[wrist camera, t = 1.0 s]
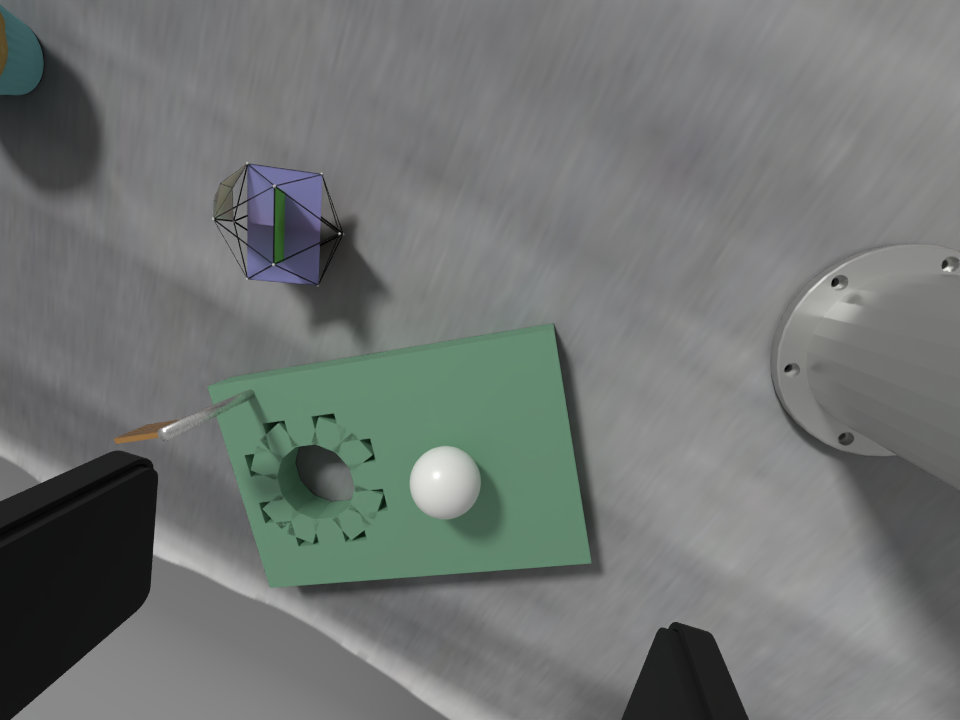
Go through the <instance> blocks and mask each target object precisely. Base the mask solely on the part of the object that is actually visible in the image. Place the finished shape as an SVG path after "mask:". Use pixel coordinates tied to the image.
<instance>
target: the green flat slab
mask: <svg viewBox="0 0 960 720" xmlns="http://www.w3.org/2000/svg"><path fill="white" fill-rule="evenodd" d="M247 389H251V390H253V391H254V394H255V396H254V398H253V399H251V400H248V401H246V402H244V403H242V404H240V405H238V406H236V407H234V408H232V409H230V410H228V411H226V412H224V413H222V414H220V415H218V416H217V419H218V422H219V425H220V428H221V431H222V435H223V438H224V441H225V444H226V447H227V451H228V454H229V457H230V460H231V464H232V467H233V470H234V473H235V476H236V480H237V483H238V486H239V489H240V492H241V496H242V499H243V502H244V505H245V509H246V512H247V515H248V518H249V521H250V525H251V528H252V531H253V534H254V537H255V541H256V544H257V547H258V550H259V554H260V557H261V560H262V563H263V566H264V570H265V573H266V576H267V579H268V582H269V586H270V588H274V587H287V586H300V585H314V584H327V583H340V582H353V581H366V580H379V579H393V578H406V577H419V576H432V575H445V574H458V573H472V572H485V571H498V570H511V569H524V568H538V567H551V566H564V565H577V564H590V563H591V556H590V549H589V542H588V535H587V529H586V523H585V517H584V511H583V504H582V498H581V492H580V486H579V479H578V473H577V467H576V461H575V454H574V448H573V442H572V436H571V429H570V423H569V417H568V411H567V404H566V398H565V392H564V386H563V380H562V373H561V367H560V361H559V355H558V348H557V342H556V336H555V330H554V323H553V324H547V325H541V326H535V327H529V328H523V329H517V330H511V331H505V332H499V333H493V334H487V335H481V336H475V337H469V338H463V339H457V340H451V341H445V342H439V343H433V344H427V345H421V346H415V347H409V348H403V349H397V350H391V351H385V352H379V353H373V354H367V355H362V356H356V357H350V358H344V359H338V360H332V361H326V362H320V363H314V364H308V365H302V366H296V367H290V368H284V369H278V370H272V371H266V372H260V373H254V374H248V375H242V376H236V377H231V378H228V379H225V380H223V381H220V382H218V383H215V384H212V385H210V386H208V390H209V393H210V396H211V399H212V402H213V405H214V404H216V403H219V402H221V401H223V400H225V399H227V398H230V397H232V396H234V395H236V394H239V393H241V392H243V391H245V390H247ZM314 444H316V445H318V446H321V447H323V448H326V449H328V450H331V451H333V452H335V453H336V454H337V455H338V456H339V457H340V458H341V459H342V460H343V461H344V463H345V464H346V465H347V466H348V467H349V468H350V471H351V475H352V479H353V483H354V486H355V490H354V493H353V496H352V498H351V499H350V500H344V501H334V502H331V501H328V500H326V499H323V498H321V497H318V496H316V495H313V493H312V492H311V491H310V490H309V489H308V488H307V487H306V486H305V485H304V484H303V483H302V481H301V480H300V477H299V474H298V470H297V466H296V463H295V461H296V458H297V454H298V450H299V446H307V445H314ZM441 446H451V447H456V448H459V449H461V450H463V451H464V452H466V453H467V454H468V455H470V456H471V457H472V459H473V460H474V461H475V463H476V465H477V467H478V469H479V472H480V477H481V487H480V492H479V495H478V498H477V500H476V502H475V503H474V505H473V506H472V507H471V508H470V509H469V510H468V511H467V512H466V513H464V514H463V515H461V516H459V517H456V518H453V519H437V518H433V517H431V516H429V515H427V514H425V513H424V512H423V511H421V510H420V509H419V508H418V506H417V505H416V504H415V502H414V500H413V498H412V495H411V492H410V475H411V472H412V469H413V467H414V465H415V463H416V462H417V460H418V459H419V458H420V457H421V456H422V455H423V454H424V453H426V452H427V451H429V450H431V449H433V448H436V447H441Z"/></svg>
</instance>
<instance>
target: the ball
mask: <svg viewBox="0 0 960 720" xmlns="http://www.w3.org/2000/svg"><path fill="white" fill-rule="evenodd" d="M480 487H481V477H480V472H479V469H478V467H477V465H476V463H475V461H474V460H473V459H472V457H471V456H470V455H468V454H467V453H466V452H464V451H463V450H461V449H459V448H456V447H451V446H441V447H436V448H433V449H431V450H429V451H427V452H426V453H424V454H423V455H422V456H421V457H420V458H419V459H418V460H417V462H416V463H415V465H414V467H413V469H412V472H411V475H410V492H411V495H412V498H413V500H414V502H415V504H416V505H417V506H418V508H419V509H420V510H421V511H423V512H424V513H425V514H427V515H429V516H431V517H433V518H437V519H453V518H456V517H459V516H461V515H463V514H464V513H466V512H467V511H468V510H469V509H470V508H471V507H472V506H473V505H474V503H475V502H476V500H477V498H478V495H479V492H480Z"/></svg>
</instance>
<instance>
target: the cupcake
mask: <svg viewBox="0 0 960 720" xmlns="http://www.w3.org/2000/svg"><path fill="white" fill-rule="evenodd" d="M43 66H44V62H43V54H42V50H41V47H40V44H39V42H38V40H37V38H36V36H35V35H34V33H33V32H32V31H31V29H30V28H29V27H28V26H27V25H26V24H25V23H23V22H22V21H21V20H19V19H18V18H16V17H15V16H14V15H12V14H11V13H10V12H9V11H7V10H6V9H5V8H3V7H2V6H1V5H0V95H23V94H27V93H29V92H31V91H32V90H33V89H34V88H35V87H36V86H37V85H38V83H39V82H40V79H41V77H42V73H43Z"/></svg>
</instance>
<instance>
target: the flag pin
mask: <svg viewBox="0 0 960 720" xmlns="http://www.w3.org/2000/svg"><path fill="white" fill-rule="evenodd" d="M254 396H255V394H254V391H253V390H251V389H247V390H245V391H243V392H241V393H239V394H236V395H234V396H232V397H230V398H227V399H225V400H223V401H221V402H219V403H216V404H214V405H212V406H210V407H207V408H205V409H203V410H201V411H199V412H196V413H194V414H192V415H190V416H188V417H185V418H183V419H181V420H174V421H167V422H161V423H154V424H148V425H145V426H143V427H140V428H138V429H136V430H133V431H131V432H129V433H126V434H124V435H122V436H119V437H117V438H114V440H115V443H116V444H118V443H125V442H132V441H139V440H146V439H152V438H160V439H161V440H163V441H166V440H169V439H171V438H173V437H175V436H177V435H179V434H181V433H183V432H185V431H187V430H189V429H191V428H193V427H195V426H197V425H199V424H201V423H203V422H205V421H208V420H210V419H212V418H214V417H216V416H218V415H220V414H222V413H224V412H226V411H228V410H230V409H232V408H234V407H236V406H238V405H240V404H242V403H244V402H246V401H248V400H251V399H253V398H254Z"/></svg>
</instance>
